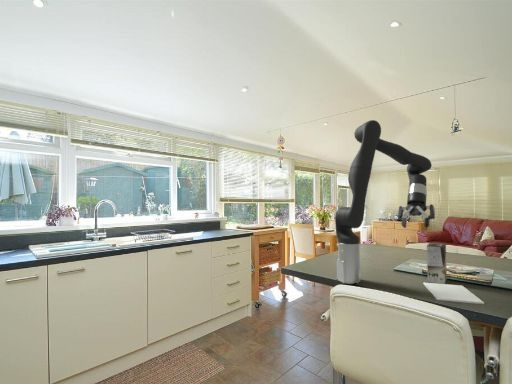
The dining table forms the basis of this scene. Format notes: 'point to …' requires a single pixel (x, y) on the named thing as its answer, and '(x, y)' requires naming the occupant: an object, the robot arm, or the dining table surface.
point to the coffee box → (436, 263)
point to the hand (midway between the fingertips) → (414, 227)
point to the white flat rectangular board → (452, 293)
